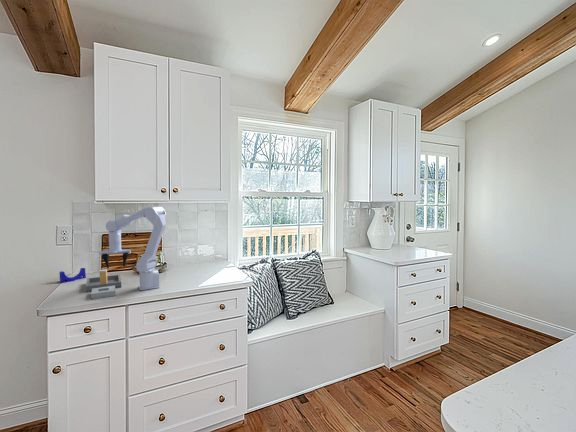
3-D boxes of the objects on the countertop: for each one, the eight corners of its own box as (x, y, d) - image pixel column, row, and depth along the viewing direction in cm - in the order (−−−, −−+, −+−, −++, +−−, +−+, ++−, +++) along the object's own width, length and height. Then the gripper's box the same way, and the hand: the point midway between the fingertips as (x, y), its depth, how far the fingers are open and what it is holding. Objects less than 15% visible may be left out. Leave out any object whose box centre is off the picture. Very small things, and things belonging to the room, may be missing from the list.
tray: (120, 279, 177) (119, 274, 177) (121, 287, 161) (121, 281, 161) (87, 283, 169) (87, 278, 168) (85, 292, 153) (85, 286, 153)
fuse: (107, 283, 166) (106, 269, 166) (106, 284, 164) (105, 270, 163) (101, 284, 165) (100, 269, 165) (100, 285, 162) (99, 271, 162)
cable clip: (62, 283, 170) (62, 272, 169) (59, 282, 172) (59, 271, 172) (86, 278, 179) (86, 268, 179) (83, 277, 182) (83, 267, 182)
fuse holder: (115, 290, 156) (114, 285, 156) (115, 295, 148) (115, 290, 148) (92, 293, 151) (92, 288, 151) (91, 299, 143) (91, 294, 143)
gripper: (97, 244, 156) (99, 270, 157) (129, 242, 161) (130, 267, 162) (101, 242, 163) (102, 267, 163) (130, 241, 168) (131, 264, 168)
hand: (116, 267), depth 163 cm, fingers open, 7 cm apart
